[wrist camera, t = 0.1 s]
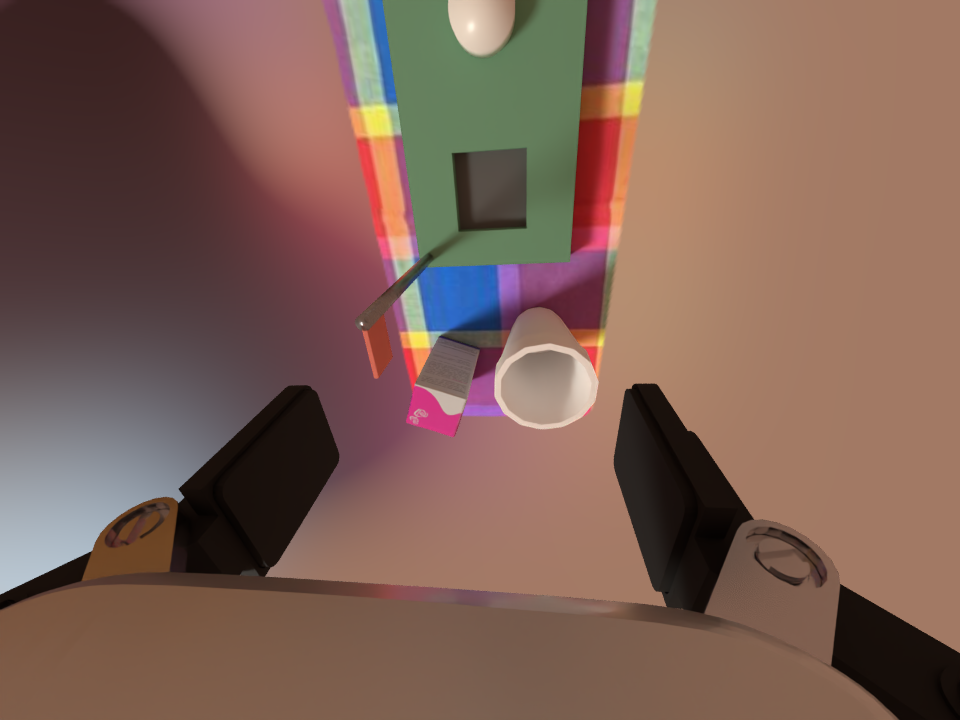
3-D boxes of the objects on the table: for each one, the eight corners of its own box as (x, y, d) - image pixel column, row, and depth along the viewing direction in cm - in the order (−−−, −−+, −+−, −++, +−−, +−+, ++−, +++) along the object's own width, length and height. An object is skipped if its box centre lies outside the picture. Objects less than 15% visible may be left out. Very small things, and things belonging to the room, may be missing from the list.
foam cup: (587, 305, 40) (615, 359, 29) (561, 370, 45) (577, 438, 33) (510, 286, 40) (507, 333, 29) (492, 353, 45) (483, 416, 33)
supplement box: (437, 334, 44) (414, 382, 34) (481, 347, 44) (471, 399, 34) (428, 370, 47) (404, 424, 37) (469, 382, 47) (456, 439, 37)
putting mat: (381, -71, 27) (113, -545, 9) (589, -103, 25) (767, -775, 7) (429, 287, 41) (362, 378, 23) (565, 283, 39) (605, 378, 21)
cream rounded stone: (449, -24, 26) (444, -37, 24) (514, -33, 25) (514, -47, 24) (455, 61, 28) (451, 54, 27) (515, 55, 28) (515, 47, 26)
